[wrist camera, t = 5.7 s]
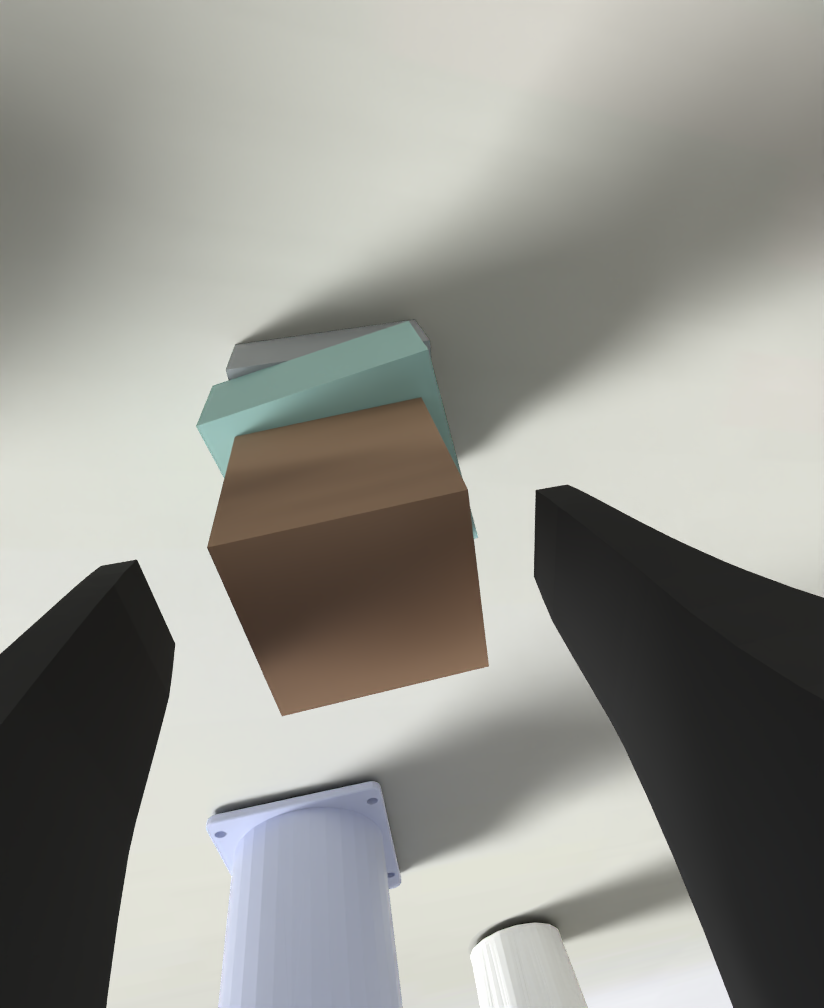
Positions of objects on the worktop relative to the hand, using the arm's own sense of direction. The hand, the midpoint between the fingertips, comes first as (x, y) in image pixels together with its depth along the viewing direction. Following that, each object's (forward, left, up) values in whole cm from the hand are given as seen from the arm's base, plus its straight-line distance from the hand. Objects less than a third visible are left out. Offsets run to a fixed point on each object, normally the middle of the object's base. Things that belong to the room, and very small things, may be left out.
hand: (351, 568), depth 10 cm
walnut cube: (0, 0, -3) cm, 3 cm away
